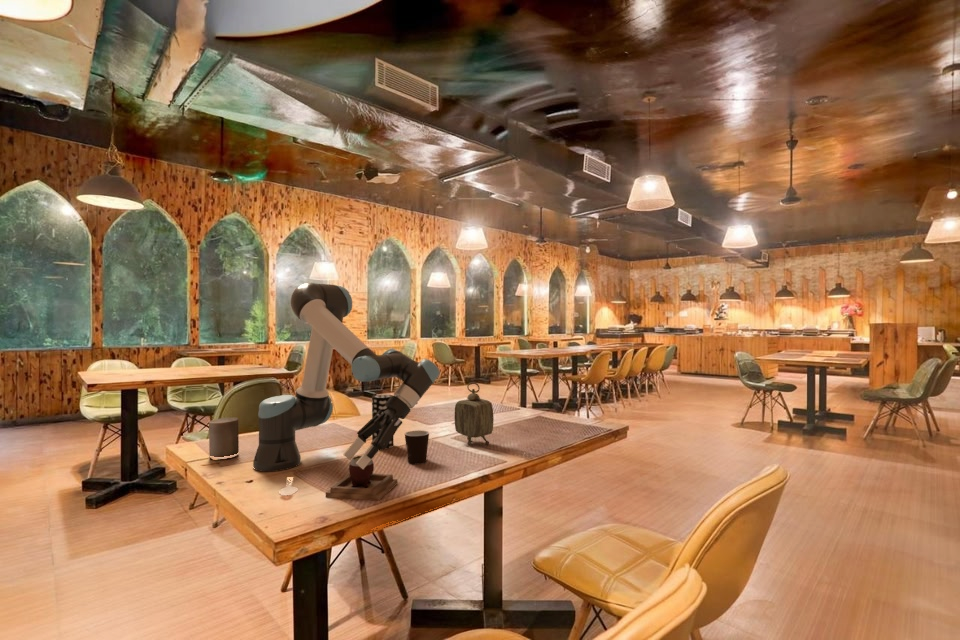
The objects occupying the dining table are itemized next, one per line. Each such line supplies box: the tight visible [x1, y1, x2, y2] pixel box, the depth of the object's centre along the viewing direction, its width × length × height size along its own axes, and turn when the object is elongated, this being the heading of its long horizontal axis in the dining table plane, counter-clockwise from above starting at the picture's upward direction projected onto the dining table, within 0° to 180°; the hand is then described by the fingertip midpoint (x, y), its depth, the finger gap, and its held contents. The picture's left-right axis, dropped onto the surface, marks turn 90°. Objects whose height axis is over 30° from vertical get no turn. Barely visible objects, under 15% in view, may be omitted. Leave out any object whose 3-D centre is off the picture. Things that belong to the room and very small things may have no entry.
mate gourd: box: [348, 437, 377, 488], centre depth 136 cm, size 8×8×15 cm
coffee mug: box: [404, 429, 430, 465], centre depth 164 cm, size 12×9×10 cm
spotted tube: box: [371, 394, 394, 449], centre depth 184 cm, size 8×8×20 cm
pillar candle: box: [208, 416, 240, 457], centre depth 171 cm, size 10×10×15 cm
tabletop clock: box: [454, 381, 495, 446], centre depth 186 cm, size 14×9×25 cm, turn 45°
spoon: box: [278, 478, 299, 497], centre depth 139 cm, size 5×18×1 cm, turn 20°
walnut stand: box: [325, 473, 398, 501], centre depth 135 cm, size 16×14×3 cm
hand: (352, 461), depth 133 cm, fingers open, 10 cm apart
